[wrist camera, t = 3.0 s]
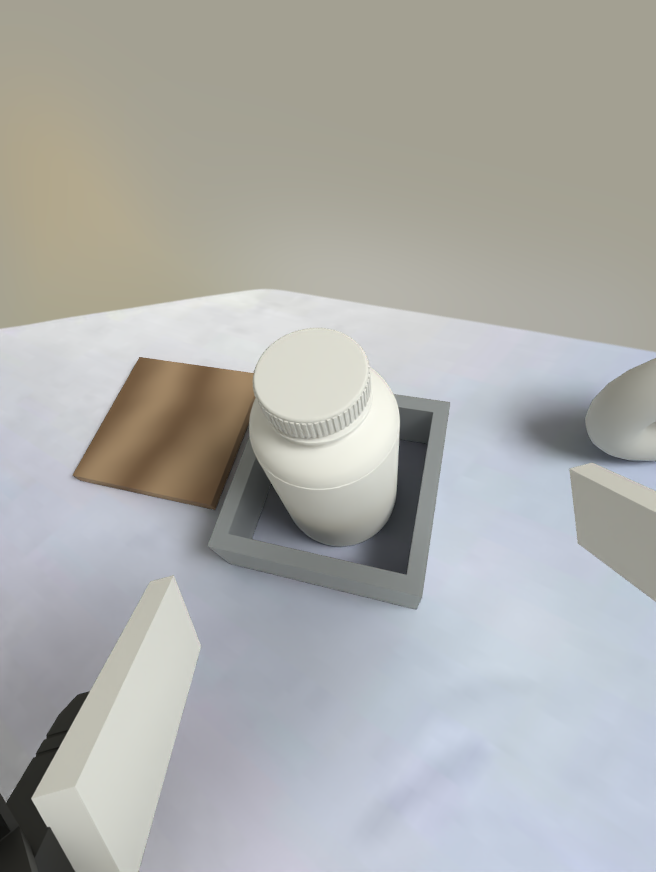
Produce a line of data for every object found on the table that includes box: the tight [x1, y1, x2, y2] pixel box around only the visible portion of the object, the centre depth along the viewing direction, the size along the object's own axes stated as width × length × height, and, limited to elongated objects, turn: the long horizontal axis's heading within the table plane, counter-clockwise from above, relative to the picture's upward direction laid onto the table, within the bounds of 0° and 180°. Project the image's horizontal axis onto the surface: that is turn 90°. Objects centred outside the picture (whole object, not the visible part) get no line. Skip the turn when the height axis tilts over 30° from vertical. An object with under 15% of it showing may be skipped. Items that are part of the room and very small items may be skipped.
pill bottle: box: [249, 328, 400, 546], centre depth 26 cm, size 8×8×15 cm
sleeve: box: [207, 394, 450, 610], centre depth 30 cm, size 13×13×4 cm
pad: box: [73, 357, 256, 510], centre depth 37 cm, size 12×12×1 cm
